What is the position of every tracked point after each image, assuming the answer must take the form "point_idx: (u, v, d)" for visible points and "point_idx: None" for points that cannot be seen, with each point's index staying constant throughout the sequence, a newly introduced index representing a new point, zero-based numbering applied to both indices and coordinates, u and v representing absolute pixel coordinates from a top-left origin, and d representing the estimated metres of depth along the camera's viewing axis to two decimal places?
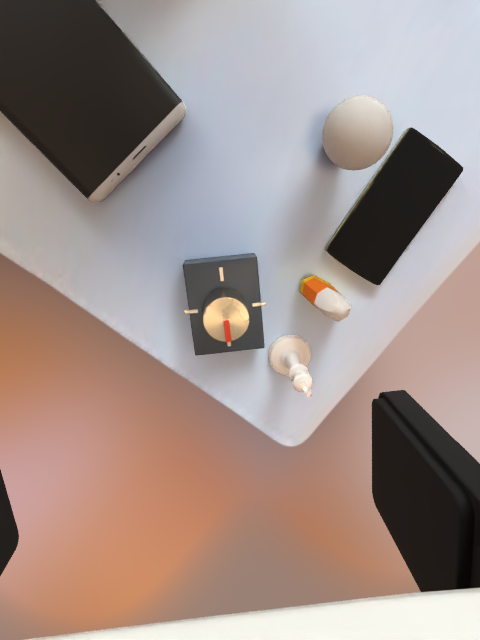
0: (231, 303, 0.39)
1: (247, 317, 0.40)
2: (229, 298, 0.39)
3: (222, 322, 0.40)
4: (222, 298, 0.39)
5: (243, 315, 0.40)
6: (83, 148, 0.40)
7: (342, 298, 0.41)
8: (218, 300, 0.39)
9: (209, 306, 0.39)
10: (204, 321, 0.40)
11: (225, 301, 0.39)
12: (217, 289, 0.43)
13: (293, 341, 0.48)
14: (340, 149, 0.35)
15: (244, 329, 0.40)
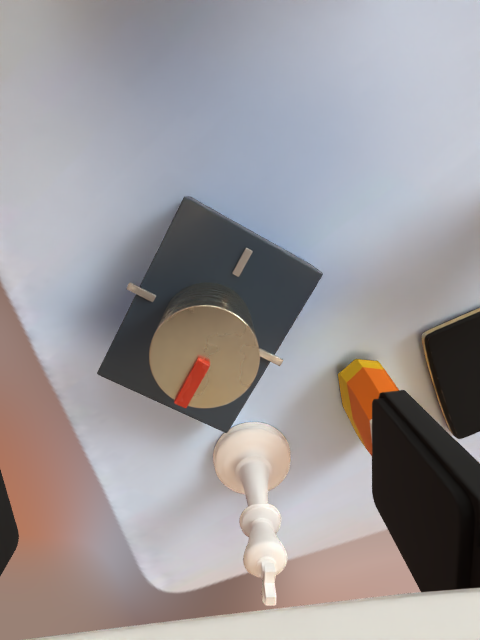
0: (237, 333, 0.16)
1: (249, 380, 0.17)
2: (241, 321, 0.16)
3: (193, 359, 0.17)
4: (227, 312, 0.16)
5: (244, 371, 0.17)
6: None
7: None
8: (216, 310, 0.16)
9: (189, 310, 0.16)
10: (158, 334, 0.16)
11: (228, 322, 0.16)
12: (217, 284, 0.20)
13: (274, 442, 0.25)
14: None
15: (227, 399, 0.17)
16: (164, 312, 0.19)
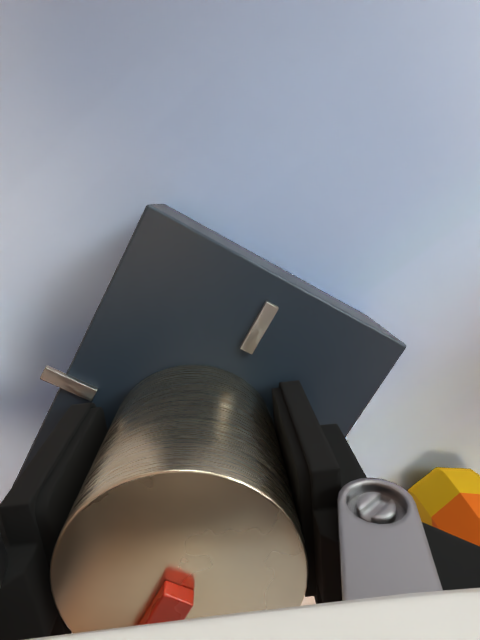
0: (259, 528, 0.07)
1: None
2: (267, 502, 0.07)
3: (155, 585, 0.07)
4: (233, 482, 0.07)
5: (272, 604, 0.07)
6: None
7: None
8: (208, 481, 0.07)
9: (142, 483, 0.07)
10: (68, 534, 0.07)
11: (238, 505, 0.07)
12: (212, 370, 0.11)
13: (304, 595, 0.16)
14: None
15: None
16: (107, 432, 0.10)
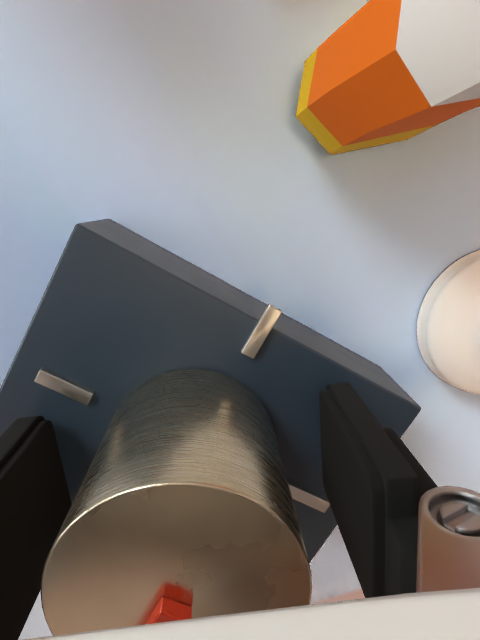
0: (260, 543, 0.07)
1: None
2: (268, 516, 0.06)
3: (151, 601, 0.07)
4: (234, 495, 0.06)
5: None
6: None
7: None
8: (206, 494, 0.06)
9: (138, 496, 0.06)
10: (60, 549, 0.06)
11: (238, 519, 0.06)
12: (211, 375, 0.10)
13: (466, 288, 0.13)
14: None
15: None
16: None
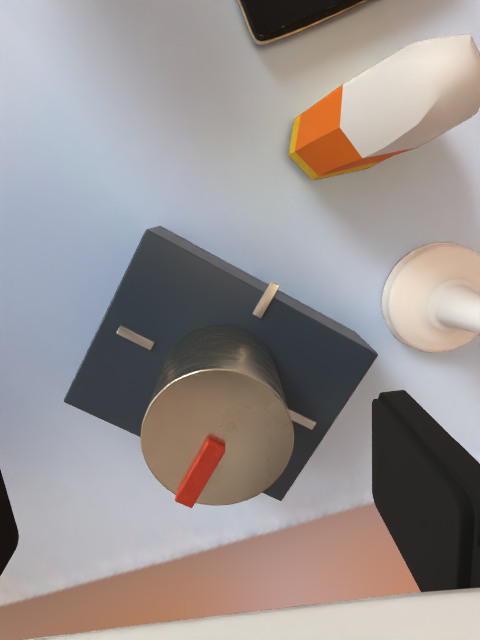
0: (263, 406, 0.12)
1: (279, 469, 0.12)
2: (268, 390, 0.12)
3: (202, 441, 0.12)
4: (248, 377, 0.12)
5: (272, 457, 0.12)
6: None
7: (414, 44, 0.10)
8: (233, 376, 0.11)
9: (196, 376, 0.11)
10: (153, 408, 0.12)
11: (251, 391, 0.12)
12: (233, 328, 0.15)
13: (414, 272, 0.18)
14: None
15: (248, 493, 0.12)
16: (164, 366, 0.15)
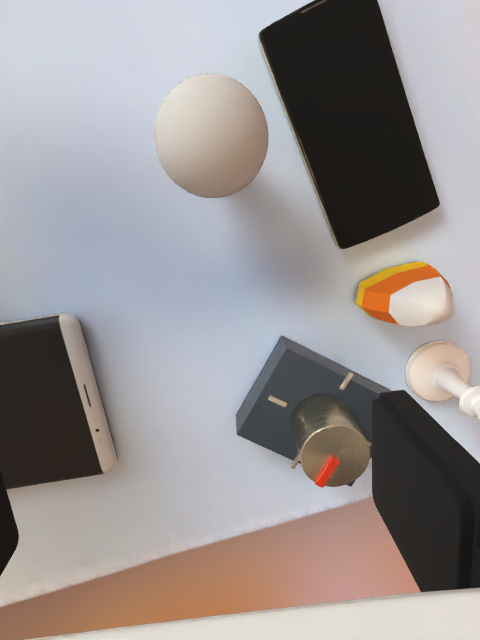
0: (357, 441, 0.26)
1: (363, 469, 0.27)
2: (359, 434, 0.26)
3: (328, 457, 0.26)
4: (350, 428, 0.26)
5: (360, 463, 0.26)
6: (51, 447, 0.32)
7: (423, 290, 0.25)
8: (344, 428, 0.26)
9: (327, 428, 0.26)
10: (307, 442, 0.26)
11: (351, 434, 0.26)
12: (329, 396, 0.30)
13: (423, 359, 0.32)
14: (214, 184, 0.21)
15: (348, 481, 0.27)
16: (297, 418, 0.29)
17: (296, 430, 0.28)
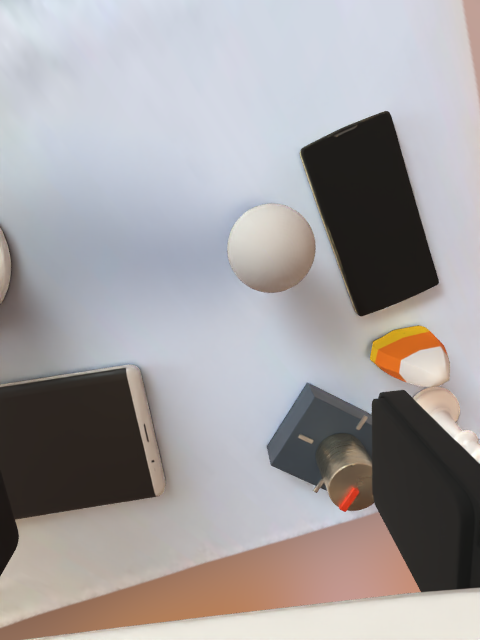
0: None
1: None
2: None
3: (350, 488, 0.33)
4: (368, 466, 0.33)
5: None
6: (113, 475, 0.38)
7: (427, 359, 0.31)
8: (363, 465, 0.33)
9: (350, 466, 0.33)
10: (334, 477, 0.33)
11: (369, 470, 0.33)
12: (348, 435, 0.37)
13: (422, 402, 0.39)
14: (275, 288, 0.27)
15: (365, 506, 0.34)
16: (323, 454, 0.36)
17: (322, 464, 0.35)
